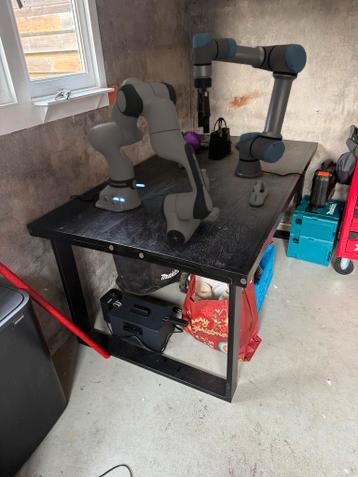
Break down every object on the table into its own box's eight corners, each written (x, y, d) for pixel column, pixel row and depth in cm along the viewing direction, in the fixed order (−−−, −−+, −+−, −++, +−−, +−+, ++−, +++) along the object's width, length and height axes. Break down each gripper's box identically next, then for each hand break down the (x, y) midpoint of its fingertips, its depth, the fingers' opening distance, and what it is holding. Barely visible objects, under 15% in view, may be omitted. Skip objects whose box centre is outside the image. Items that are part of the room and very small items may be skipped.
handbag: (219, 160, 214) (219, 120, 202) (206, 159, 218) (206, 119, 206) (232, 152, 229) (233, 114, 216) (220, 151, 233) (220, 114, 221)
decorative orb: (204, 151, 235) (204, 129, 228) (194, 156, 225) (193, 134, 217) (186, 149, 243) (186, 128, 235) (175, 154, 232) (174, 132, 224)
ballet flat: (269, 188, 169) (270, 173, 165) (265, 208, 149) (266, 191, 145) (252, 187, 171) (253, 172, 167) (246, 206, 151) (247, 190, 147)
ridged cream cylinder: (195, 212, 150) (194, 169, 140) (206, 209, 152) (205, 167, 141) (201, 216, 146) (200, 172, 136) (211, 213, 147) (211, 170, 137)
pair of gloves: (197, 151, 236) (197, 144, 233) (182, 143, 257) (182, 137, 254) (233, 145, 246) (233, 137, 243) (216, 138, 266) (216, 131, 264)
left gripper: (215, 214, 124) (223, 199, 135) (165, 209, 131) (177, 195, 142) (215, 228, 127) (223, 213, 139) (166, 223, 134) (178, 209, 145)
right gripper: (189, 75, 146) (191, 125, 157) (198, 80, 125) (199, 137, 135) (205, 74, 147) (206, 124, 157) (218, 78, 125) (217, 135, 136)
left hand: (199, 204), depth 140 cm, fingers open, 8 cm apart
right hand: (203, 130), depth 146 cm, fingers open, 13 cm apart
